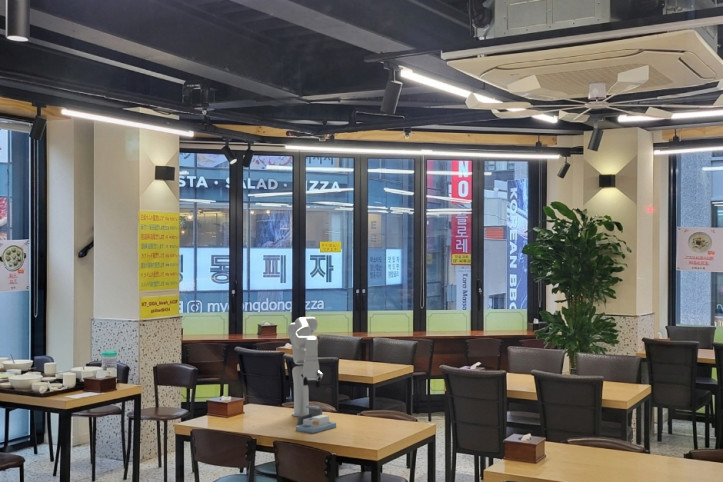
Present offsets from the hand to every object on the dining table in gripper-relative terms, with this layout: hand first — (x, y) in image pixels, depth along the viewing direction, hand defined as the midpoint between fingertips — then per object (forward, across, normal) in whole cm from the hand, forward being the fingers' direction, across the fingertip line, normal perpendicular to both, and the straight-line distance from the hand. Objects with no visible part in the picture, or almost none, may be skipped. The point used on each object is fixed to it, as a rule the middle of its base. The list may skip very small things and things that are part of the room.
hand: (311, 386), depth 490 cm
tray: (+23, +10, -8) cm, 27 cm away
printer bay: (+24, -2, +1) cm, 24 cm away
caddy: (+22, +10, -8) cm, 26 cm away
